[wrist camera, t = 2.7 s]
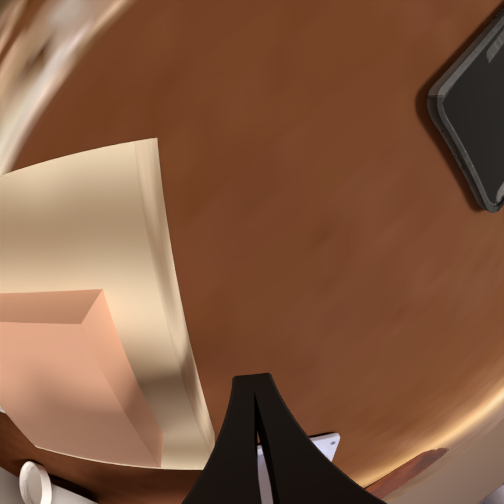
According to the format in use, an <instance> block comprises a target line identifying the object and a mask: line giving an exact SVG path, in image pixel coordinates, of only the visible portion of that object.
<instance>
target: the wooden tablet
mask: <svg viewBox="0 0 504 504" xmlns="http://www.w3.org/2000/svg"><path fill="white" fill-rule="evenodd" d="M448 450H449V449H444V448H439V449H437V450H429V451H426V452H423V453H421V454H419V455H418V456H416V457H415V458H413V459H411V460H410V461H408V462H406V463H405V464H403V465H402V466H400V467H398V468H397V469H395V470H394V471H392V472H391V473H389V474H387V475H386V476H384V477H383V478H381V479H380V480H378V481H376V482H375V483H373V484H371V485H370V486H368V487H366V488H365V490H366V491H368V492H369V493H371V494H373V495H374V496H376V497H377V498H379V499H381V498H382V497H384V496H386V495H387V494H389V493H391V492H392V491H394V490H396V489H397V488H399V487H400V486H402V485H403V484H405V483H406V482H408V481H409V480H411V479H412V478H414V477H415V476H416V475H418V474H419V473H421V472H422V471H424V470H425V469H426V468H428V467H429V466H430V465H431V464H433V463H434V462H435V461H437V460H438V459H439V458H440V457H442V456H443V455H444V454H445V453H446V452H447V451H448Z"/></svg>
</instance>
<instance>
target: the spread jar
mask: <svg viewBox="0 0 504 504" xmlns="http://www.w3.org/2000/svg"><path fill="white" fill-rule="evenodd" d="M20 491H21V495H22V498H23V500H24V502H25V504H100V501H99V499H98V497H97V496H96V495H95V494H94V493H92V492H91V491H89V490H87V489H85V488H83V487H81V486H79V485H77V484H74V483H72V482H69V481H67V480H64V479H60V478H56V477H51V478H49V476H48V473H47V472H46V470H45V469H44V467H43V466H42V465H40V464H37V463H34V462H31V461H28V462H26V463H25V464H24V465H23V467H22V469H21V472H20Z"/></svg>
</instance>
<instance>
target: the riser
mask: <svg viewBox="0 0 504 504" xmlns="http://www.w3.org/2000/svg"><path fill="white" fill-rule="evenodd" d="M92 289H103V292H104V295H105V298H106V301H107V304H108V307H109V310H110V313H111V316H112V319H113V322H114V325H115V327H116V330H117V333H118V336H119V338H120V341H121V343H122V346H123V349H124V351H125V354H126V356H127V359H128V361H129V363H130V366H131V368H132V371H133V373H134V375H135V377H136V380H137V382H138V384H139V386H140V389H141V391H142V393H143V395H144V397H145V399H146V401H147V404H148V406H149V408H150V410H151V412H152V414H153V416H154V418H155V420H156V422H157V424H158V425H159V427H160V429H161V431H162V433H163V435H164V442H163V452H162V461H161V468H159V467H146V466H135V465H126V464H118V463H111V462H105V463H111V464H118V465H126V466H135V467H145V468H158V469H180V470H203V469H204V467H205V465H206V463H207V461H208V459H209V457H210V455H211V453H212V451H213V448H214V430H213V427H212V424H211V420H210V417H209V413H208V410H207V406H206V403H205V399H204V396H203V392H202V388H201V384H200V381H199V377H198V373H197V369H196V365H195V361H194V357H193V353H192V348H191V344H190V340H189V335H188V331H187V327H186V322H185V317H184V313H183V308H182V303H181V298H180V293H179V288H178V283H177V278H176V272H175V267H174V261H173V255H172V249H171V243H170V237H169V231H168V224H167V218H166V211H165V203H164V196H163V188H162V180H161V172H160V163H159V153H158V143H157V138H152V139H146V140H140V141H134V142H128V143H123V144H117V145H112V146H107V147H103V148H98V149H93V150H89V151H84V152H80V153H76V154H72V155H68V156H64V157H60V158H56V159H53V160H49V161H46V162H42V163H39V164H35V165H32V166H29V167H25V168H22V169H19V170H16V171H13V172H10V173H7V174H4V175H1V176H0V293H26V292H51V291H73V290H92ZM36 447H38V446H36ZM38 448H41V447H38ZM42 449H45V448H42ZM45 450H48V449H45ZM49 451H52V450H49ZM52 452H56V451H52ZM56 453H60V452H56ZM60 454H64V453H60ZM64 455H68V454H64ZM69 456H73V455H69ZM73 457H77V456H73ZM78 458H82V457H78ZM82 459H87V458H82ZM88 460H93V459H88ZM93 461H98V460H93ZM98 462H104V461H98Z"/></svg>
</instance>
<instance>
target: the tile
mask: <svg viewBox="0 0 504 504" xmlns="http://www.w3.org/2000/svg"><path fill="white" fill-rule="evenodd" d="M0 406H1V407H2V409H3V410H4V411H5V413H6V414H7V415H8V416H9V417H10V419H11V420H12V421H13V422H14V423H15V425H16V426H17V427H18V428H19V429H20V430H21V431H22V433H23V434H24V435H25V436H26V437H27V438H28V439H29V440H30V441H31V442H32V443H33V444H34V445H35V446H38V447H41V448H45V449H48V450H52V451H56V452H60V453H64V454H68V455H73V456H77V457H82V458H87V459H93V460H98V461H104V462H111V463H118V464H126V465H135V466H146V467H159V468H161V461H162V452H163V442H164V435H163V433H162V431H161V429H160V427H159V425H158V424H157V422H156V420H155V418H154V416H153V414H152V412H151V410H150V408H149V406H148V404H147V401H146V399H145V397H144V395H143V393H142V391H141V389H140V386H139V384H138V382H137V380H136V377H135V375H134V373H133V371H132V368H131V366H130V363H129V361H128V359H127V356H126V354H125V351H124V349H123V346H122V343H121V341H120V338H119V336H118V333H117V330H116V327H115V325H114V322H113V319H112V316H111V313H110V310H109V307H108V304H107V301H106V298H105V295H104V292H103V289H92V290H73V291H51V292H26V293H0Z"/></svg>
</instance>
